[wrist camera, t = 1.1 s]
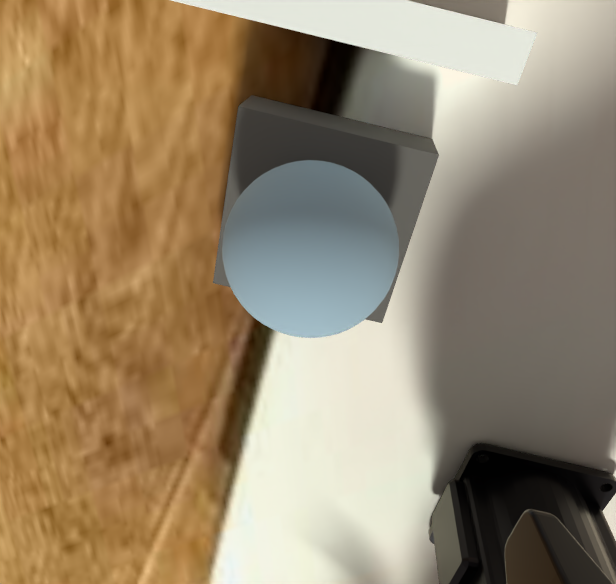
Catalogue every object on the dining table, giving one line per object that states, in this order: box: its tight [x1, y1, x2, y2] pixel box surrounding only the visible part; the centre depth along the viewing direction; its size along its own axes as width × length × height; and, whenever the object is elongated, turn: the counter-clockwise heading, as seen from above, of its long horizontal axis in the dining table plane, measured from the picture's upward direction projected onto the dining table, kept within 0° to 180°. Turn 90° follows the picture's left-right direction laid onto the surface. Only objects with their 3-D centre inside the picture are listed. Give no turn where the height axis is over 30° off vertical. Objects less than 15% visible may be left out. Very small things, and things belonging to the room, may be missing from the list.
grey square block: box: [213, 95, 439, 323], centre depth 18 cm, size 6×6×2 cm
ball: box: [222, 160, 399, 338], centre depth 15 cm, size 5×5×5 cm
